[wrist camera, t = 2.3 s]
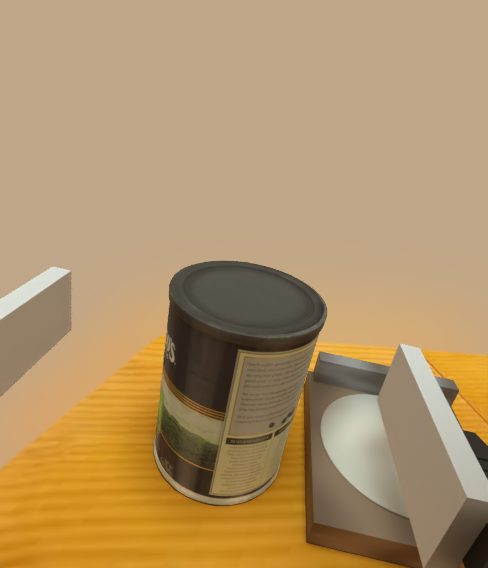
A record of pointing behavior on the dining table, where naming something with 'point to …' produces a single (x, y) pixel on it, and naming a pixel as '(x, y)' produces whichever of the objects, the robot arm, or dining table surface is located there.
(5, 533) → the dining table surface
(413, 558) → the plate
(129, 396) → the dining table surface
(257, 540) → the dining table surface
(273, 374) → the coffee can
